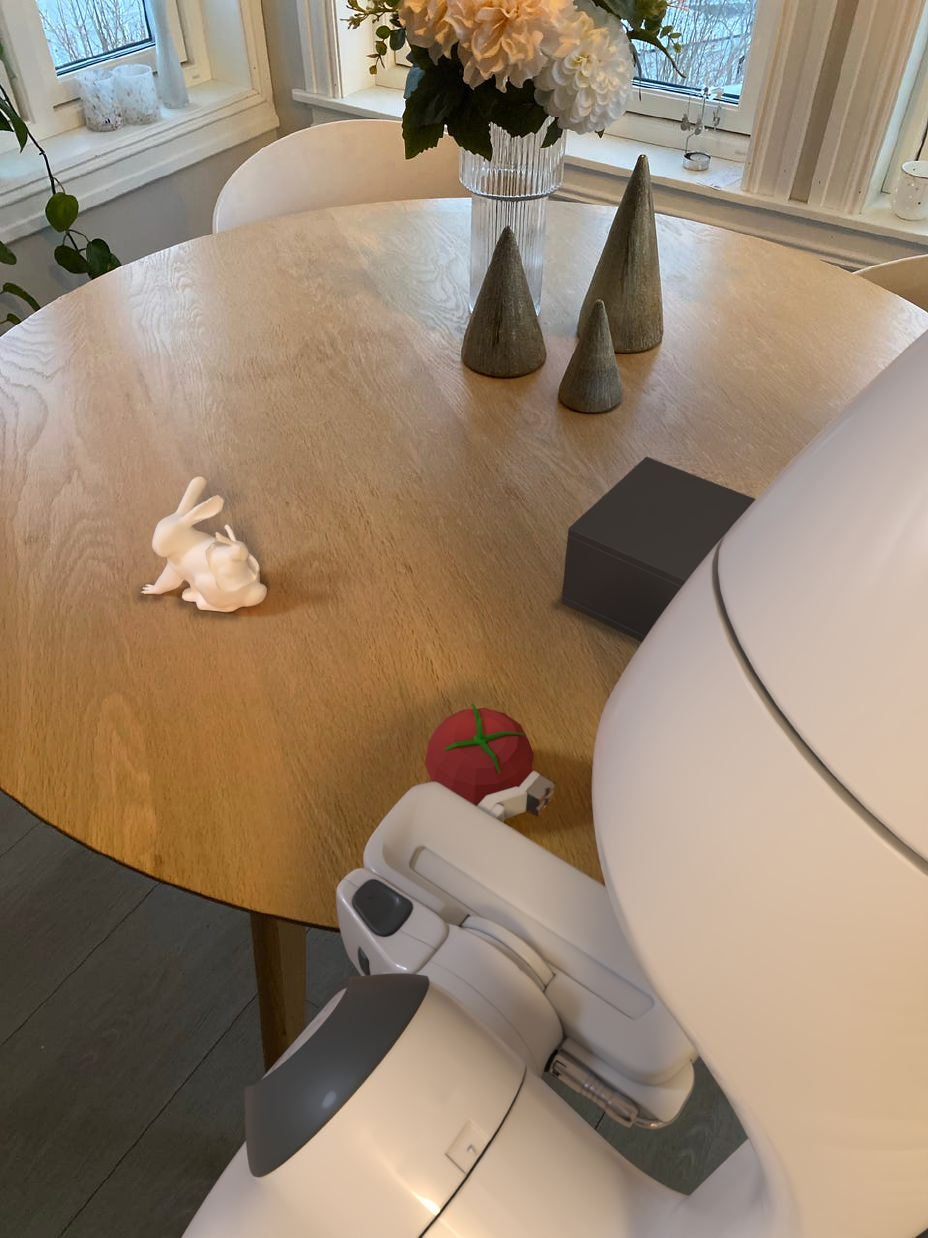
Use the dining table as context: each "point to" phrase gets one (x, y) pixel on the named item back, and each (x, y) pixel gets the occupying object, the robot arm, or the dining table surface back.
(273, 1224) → the robot arm
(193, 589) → the rabbit figurine
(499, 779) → the tomato
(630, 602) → the cabinet
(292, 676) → the dining table surface
